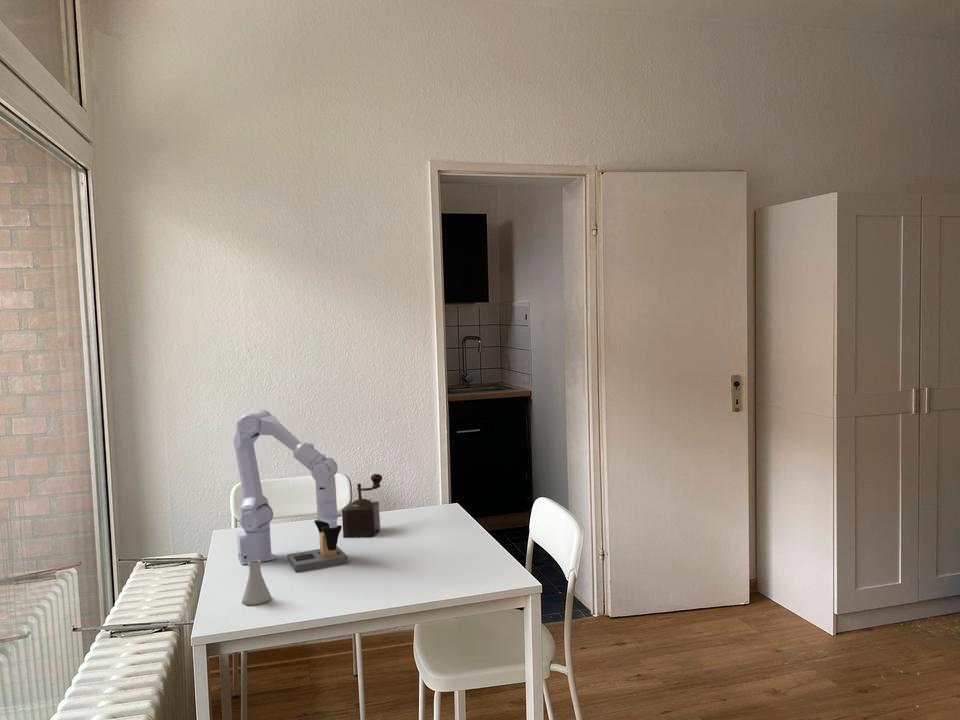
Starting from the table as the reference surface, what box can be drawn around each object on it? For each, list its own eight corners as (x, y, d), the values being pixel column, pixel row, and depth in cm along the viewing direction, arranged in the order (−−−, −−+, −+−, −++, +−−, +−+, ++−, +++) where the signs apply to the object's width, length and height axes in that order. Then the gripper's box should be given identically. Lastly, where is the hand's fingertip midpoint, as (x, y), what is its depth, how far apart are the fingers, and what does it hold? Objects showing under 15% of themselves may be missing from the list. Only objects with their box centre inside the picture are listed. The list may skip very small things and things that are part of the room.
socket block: (295, 572, 210) (295, 564, 210) (287, 561, 221) (286, 553, 221) (348, 563, 217) (347, 555, 216) (337, 552, 227) (337, 545, 227)
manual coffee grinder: (376, 537, 242) (373, 482, 242) (342, 538, 243) (339, 482, 243) (386, 524, 258) (383, 472, 257) (354, 525, 259) (351, 473, 258)
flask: (243, 608, 185) (240, 567, 184) (240, 598, 191) (237, 560, 191) (273, 602, 188) (271, 563, 187) (269, 593, 194) (267, 555, 194)
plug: (323, 563, 218) (322, 533, 217) (320, 559, 221) (319, 530, 221) (337, 560, 219) (335, 531, 219) (334, 557, 223) (332, 527, 223)
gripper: (346, 503, 215) (348, 550, 215) (333, 494, 228) (336, 538, 228) (321, 507, 212) (324, 554, 212) (310, 497, 225) (313, 542, 226)
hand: (328, 546), depth 220 cm, fingers open, 7 cm apart
